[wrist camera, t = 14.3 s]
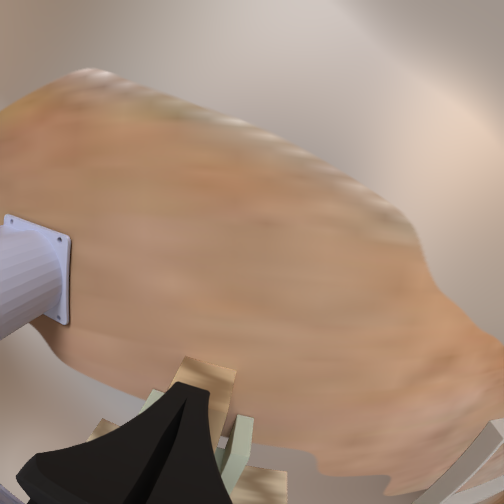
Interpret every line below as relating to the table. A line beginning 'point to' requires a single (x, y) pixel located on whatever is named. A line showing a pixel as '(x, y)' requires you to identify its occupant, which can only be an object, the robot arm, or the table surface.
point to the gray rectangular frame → (469, 471)
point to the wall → (248, 485)
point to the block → (235, 451)
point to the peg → (216, 383)
